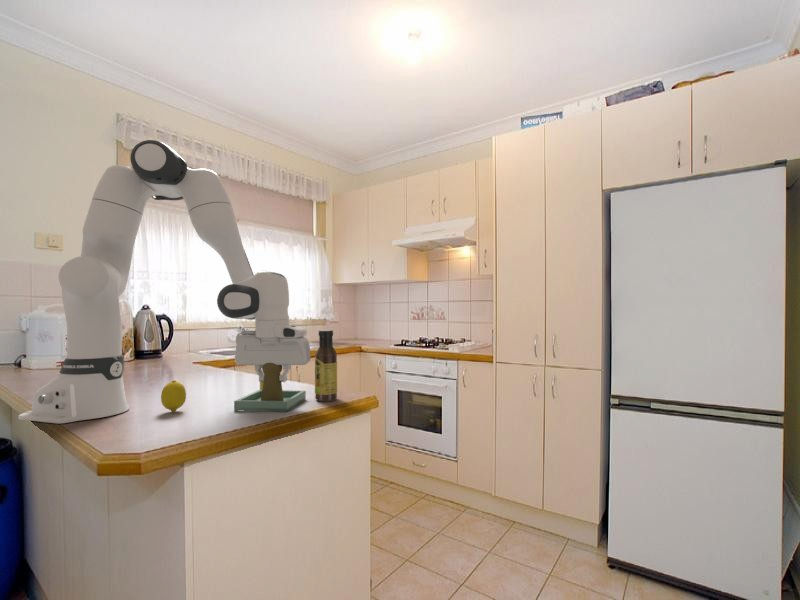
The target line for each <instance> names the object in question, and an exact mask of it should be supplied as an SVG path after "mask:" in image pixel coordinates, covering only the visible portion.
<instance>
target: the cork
mask: <svg viewBox="0 0 800 600" xmlns="http://www.w3.org/2000/svg"><path fill="white" fill-rule="evenodd" d="M261 370H263V372H264V381H263V388H262V395H261V401H284V399H283V391H282V390H283V386H282V385H283V384H282V383H283V382H280V381H279V379H280V378H279V375H281V372H282V370H283V365H276V364H274V363H265V364H264V365H263V366H262V368H261Z"/></svg>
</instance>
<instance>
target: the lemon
mask: <svg viewBox="0 0 800 600" xmlns="http://www.w3.org/2000/svg"><path fill="white" fill-rule="evenodd" d="M186 391H187V390H186V387H185V386H184V384H182V383H181V382H179V381H177V380H174V379H173V380H172V381H171V382H168V383H167V384H166V385H165V386H164V387H163V388H162V389H161V395H160V399H161V401H160V403H161V404H162V406H163V407H164V408H165V409H166V410H169V411H171V412H172V413H175V412H177V410H178V409H180V408H181V407H182V406H183V405H184V404H185V403H186V399H187V392H186Z"/></svg>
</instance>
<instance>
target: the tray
mask: <svg viewBox="0 0 800 600" xmlns="http://www.w3.org/2000/svg"><path fill="white" fill-rule="evenodd" d="M282 391H283V399H284V401H261V395H262V390H260V389H258V390H256V391H254V392H251V393H249V394H247V395H245V396H241V397H240V398H238V399H235V400H234V401H233V411H234V410H244V411H243V412H263V411H264V413H265V412H272V413H273V412H274V413H277V412H278V413H287V412H289V411H291V410H292V409H293V408H295V407H297V406H298V405H300V404H302V403H303V402H304V401H305V399H306V398H307V396H306V395H307V394H306V393H307V392H306V390H290V389H289V390H283V389H282ZM302 401H303V402H302ZM299 403H300V404H299Z"/></svg>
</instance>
